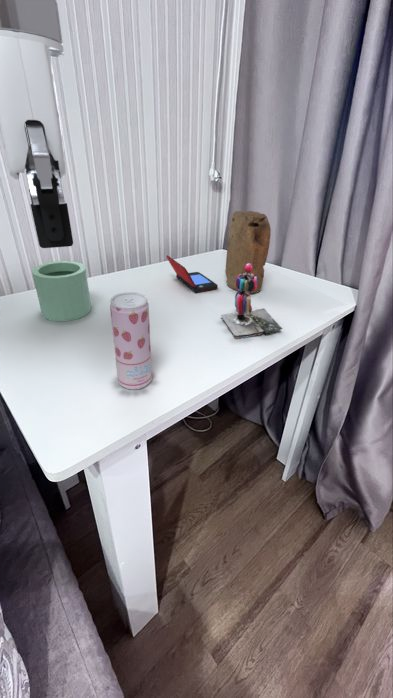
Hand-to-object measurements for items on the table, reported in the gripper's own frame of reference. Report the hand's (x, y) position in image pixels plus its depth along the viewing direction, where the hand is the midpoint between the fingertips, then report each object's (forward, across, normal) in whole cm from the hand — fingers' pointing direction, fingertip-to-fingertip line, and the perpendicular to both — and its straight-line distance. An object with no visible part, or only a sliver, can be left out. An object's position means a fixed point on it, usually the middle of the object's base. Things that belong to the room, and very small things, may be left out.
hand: (53, 234), depth 37 cm
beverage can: (+26, -3, +9) cm, 27 cm away
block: (+26, -33, +48) cm, 63 cm away
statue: (+26, -13, +38) cm, 47 cm away
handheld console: (+26, -40, +35) cm, 59 cm away
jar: (+25, -34, +1) cm, 43 cm away
